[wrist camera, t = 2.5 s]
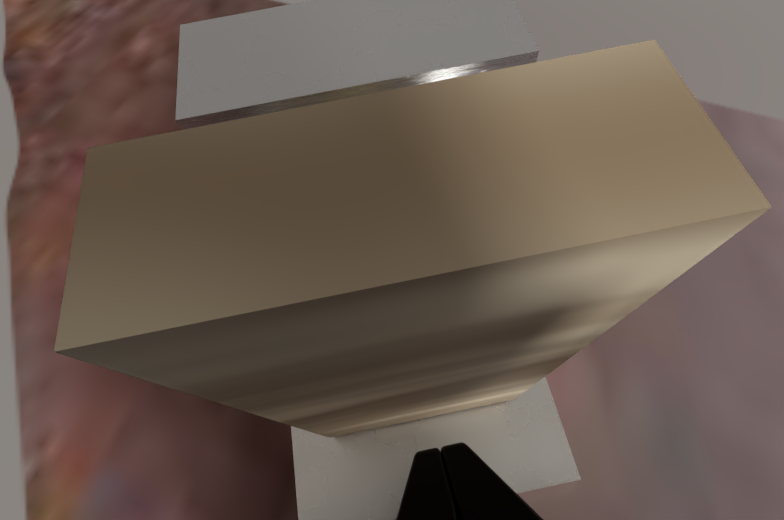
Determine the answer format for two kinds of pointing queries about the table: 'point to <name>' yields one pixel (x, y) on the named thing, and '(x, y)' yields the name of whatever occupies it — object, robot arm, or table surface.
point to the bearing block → (346, 80)
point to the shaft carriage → (399, 239)
